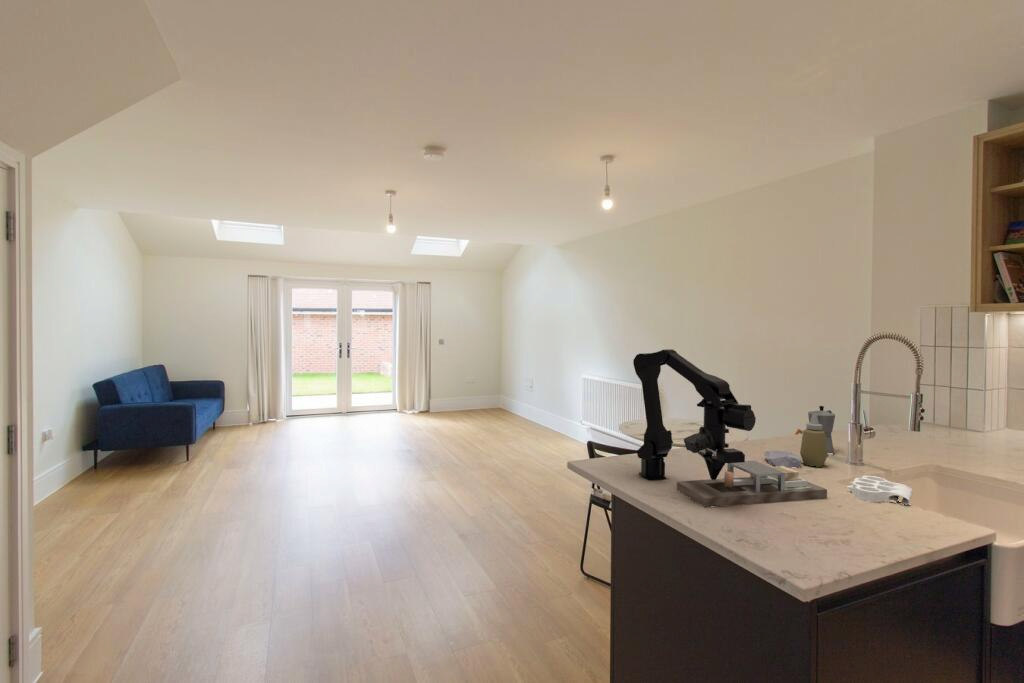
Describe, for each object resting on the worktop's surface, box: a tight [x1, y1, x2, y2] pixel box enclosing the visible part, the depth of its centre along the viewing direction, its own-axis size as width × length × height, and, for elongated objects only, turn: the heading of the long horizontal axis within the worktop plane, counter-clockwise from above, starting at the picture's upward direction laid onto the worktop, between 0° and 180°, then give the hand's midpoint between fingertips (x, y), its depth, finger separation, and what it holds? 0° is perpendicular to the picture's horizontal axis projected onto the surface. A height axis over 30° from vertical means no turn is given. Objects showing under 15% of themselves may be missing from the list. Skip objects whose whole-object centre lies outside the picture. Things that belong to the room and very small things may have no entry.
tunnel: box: [726, 460, 785, 493], centre depth 138 cm, size 9×12×5 cm
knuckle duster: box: [845, 475, 913, 506], centre depth 138 cm, size 3×18×15 cm
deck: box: [676, 476, 828, 508], centre depth 138 cm, size 38×14×2 cm, turn 101°
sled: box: [723, 471, 808, 487], centre depth 139 cm, size 23×8×4 cm, turn 101°
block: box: [770, 466, 800, 481], centre depth 140 cm, size 6×6×4 cm
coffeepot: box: [807, 405, 836, 454], centre depth 186 cm, size 15×9×18 cm, turn 125°
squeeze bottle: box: [799, 414, 828, 468], centre depth 168 cm, size 8×8×18 cm
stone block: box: [764, 449, 802, 468], centre depth 171 cm, size 12×5×10 cm
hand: (713, 479), depth 136 cm, fingers closed
